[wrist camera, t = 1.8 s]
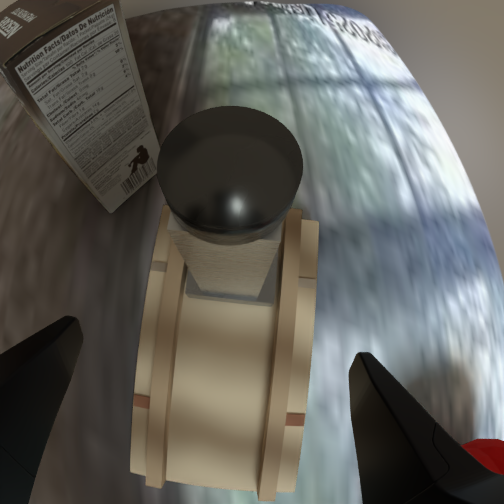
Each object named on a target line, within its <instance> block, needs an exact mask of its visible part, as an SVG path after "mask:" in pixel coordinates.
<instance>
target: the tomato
mask: <svg viewBox="0 0 504 504" xmlns="http://www.w3.org/2000/svg"><path fill="white" fill-rule="evenodd" d="M461 446H462V447H463V448H464V449H465V450H466V451H467V452H469V453H470V454H471V455H472V456H473V457H474V458H475V459H477V460H478V461H479V462H480V463H481V464H482V465H484V466H485V467H486V468H487V469H489V470H491V471H493V472H495V473H498V474H502V475H504V441H502V440H499V439H476V440H473V441H471V442H469V443H466V444H464V445H461Z"/></svg>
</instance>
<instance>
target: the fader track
mask: <svg viewBox="0 0 504 504" xmlns="http://www.w3.org/2000/svg"><path fill="white" fill-rule="evenodd" d="M170 212H171V210H170V208H169V206H168V205H163V209H162V213H161V218H160V223H159V227H158V232H157V237H156V242H155V247H154V252H153V258H152V263H151V269H150V274H149V280H148V286H147V292H146V299H145V305H144V312H143V319H142V326H141V333H140V341H139V350H138V358H137V368H136V378H135V389H134V401H133V415H132V432H131V457H130V472H132V473H136V474H140V475H144V476H146V485H147V486H151V487H156V488H160V489H161V488H162V486H163V485H164V483H165V481H166V480H167V481H173V482H178V483H184V484H190V485H197V486H204V487H212V488H220V489H230V490H242V491H257V495H258V501H275V496H276V492H295V486H296V479H297V473H298V467H299V460H300V453H301V446H302V438H303V431H304V423H305V415H306V406H307V397H308V388H309V378H310V367H311V356H312V345H313V332H314V318H315V302H316V284H317V263H318V234H319V221H312V220H304V219H302V210H301V209H293V208H290V210H289V212H288V214H287V216H286V217H285V219H284V220H283V222H282V229H281V242H280V244H279V247H278V260H277V272H276V284H275V296H274V304H273V305H272V306H271V307H267V306H257V305H247V304H238V303H229V302H220V301H212V300H204V299H196V298H189V297H188V296H187V295H186V294H185V289H186V283H187V276H188V269H189V268H188V267H187V265H186V263H185V261H184V260H183V258H182V256H181V254H180V252H179V251H178V249H177V247H176V245H175V243H174V241H173V240H172V238H171V236H170V234H169V232H168V230H167V226H168V221H169V216H170Z"/></svg>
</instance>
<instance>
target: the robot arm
mask: <svg viewBox="0 0 504 504" xmlns="http://www.w3.org/2000/svg"><path fill="white" fill-rule="evenodd" d="M82 343H83V334H82V330H81V327H80V323H79V320H78V319H77V318H76V317H72V316H64V317H63V318H61V319H59V320H57V321H56V322H54V323H52V324H51V325H49V326H47V327H45V328H44V329H42V330H40V331H39V332H37V333H35V334H34V335H32V336H30V337H28V338H27V339H25V340H23V341H22V342H20V343H18V344H17V345H15V346H13V347H12V348H10V349H8V350H7V351H5V352H4V353H2V354H0V504H28V503H29V499H30V495H31V492H32V488H33V485H34V481H35V477H36V474H37V471H38V467H39V464H40V461H41V458H42V455H43V452H44V449H45V446H46V443H47V440H48V437H49V435H50V432H51V429H52V426H53V424H54V421H55V418H56V416H57V413H58V411H59V408H60V405H61V403H62V400H63V398H64V395H65V393H66V391H67V388H68V386H69V383H70V381H71V378H72V375H73V372H74V368H75V365H76V362H77V359H78V356H79V353H80V349H81V346H82ZM349 391H350V411H351V421H352V427H353V434H354V440H355V447H356V454H357V461H358V468H359V476H360V484H361V492H362V501H363V504H504V475H502V474H498V473H495V472H493V471H491V470H489V469H487V468H486V467H485V466H484V465H482V464H481V463H480V462H479V461H478V460H477V459H475V458H474V457H473V456H472V455H471V454H470V453H469V452H467V451H466V450H465V449H464V448H463V447H462V446H461V445H459V444H458V443H457V442H456V441H455V440H454V439H453V438H452V437H451V436H450V435H449V434H448V433H447V432H446V431H445V430H444V429H443V428H442V427H441V426H440V425H439V424H438V423H437V422H436V421H435V420H434V419H433V418H432V416H431V415H430V414H429V413H428V412H427V411H426V410H425V409H424V408H423V407H422V406H421V405H420V404H419V403H418V402H417V401H416V400H415V399H414V398H413V396H412V395H411V394H410V393H409V392H408V391H407V390H406V389H405V388H404V387H403V386H402V385H401V384H400V383H399V382H398V381H397V380H396V379H395V378H394V377H393V376H392V375H391V374H390V372H389V371H388V370H387V369H386V368H385V367H384V366H383V365H382V364H381V363H380V362H379V361H378V360H377V359H376V358H375V357H374V356H373V355H372V354H371V353H369V352H359V353H357V354H356V356H355V358H354V361H353V363H352V365H351V367H350V370H349ZM435 422H436V423H435Z"/></svg>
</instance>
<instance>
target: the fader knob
mask: <svg viewBox="0 0 504 504" xmlns="http://www.w3.org/2000/svg"><path fill="white" fill-rule="evenodd" d="M302 172H303V159H302V154H301V150H300V148H299V145H298V143H297V141H296V139H295V138H294V136H293V135H292V133H291V132H290V131H289V130H288V129H287V128H286V127H285V126H284V125H283V124H282V123H281V122H279V121H278V120H277V119H275V118H273V117H272V116H270V115H268V114H266V113H264V112H261V111H258V110H255V109H251V108H247V107H240V106H221V107H215V108H210V109H207V110H203V111H201V112H198V113H196V114H194V115H192V116H190V117H188V118H187V119H185V120H184V121H182V122H181V123H180V124H178V125H177V126H176V127H175V128H174V129H173V130H172V131H171V132H170V134H169V135H168V136H167V138H166V139H165V141H164V143H163V144H162V146H161V149H160V152H159V155H158V160H157V177H158V181H159V184H160V187H161V189H162V192H163V194H164V196H165V199H166V201H167V203H168V206H169V208H170V210H171V212H170V216H169V221H168V226H167V230H168V232H169V234H170V236H171V238H172V240H173V241H174V243H175V245H176V247H177V249H178V251H179V252H180V254H181V256H182V258H183V260H184V261H185V263H186V265H187V267H188V268H189V269H188V276H187V283H186V289H185V294H186V295H187V296H188V297H189V298H196V299H204V300H212V301H220V302H229V303H238V304H247V305H257V306H267V307H271V306H272V305H273V304H274V296H275V284H276V272H277V260H278V247H279V244H280V242H281V229H282V222H283V220H284V219H285V217H286V216H287V214H288V212H289V210H290V208H291V206H292V203H293V200H294V198H295V195H296V192H297V190H298V187H299V184H300V181H301V177H302Z"/></svg>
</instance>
